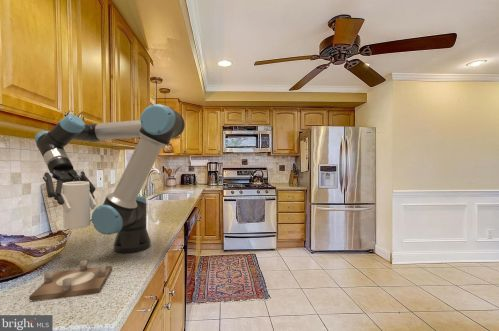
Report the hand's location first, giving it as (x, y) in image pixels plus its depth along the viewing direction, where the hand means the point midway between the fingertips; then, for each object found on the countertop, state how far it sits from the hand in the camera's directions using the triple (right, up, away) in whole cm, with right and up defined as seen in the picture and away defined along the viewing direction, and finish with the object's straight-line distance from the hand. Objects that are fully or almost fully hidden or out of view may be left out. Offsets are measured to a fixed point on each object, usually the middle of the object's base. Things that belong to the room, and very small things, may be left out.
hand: (81, 208), depth 94 cm
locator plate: (+6, -22, -12) cm, 26 cm away
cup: (-3, -7, +2) cm, 8 cm away
